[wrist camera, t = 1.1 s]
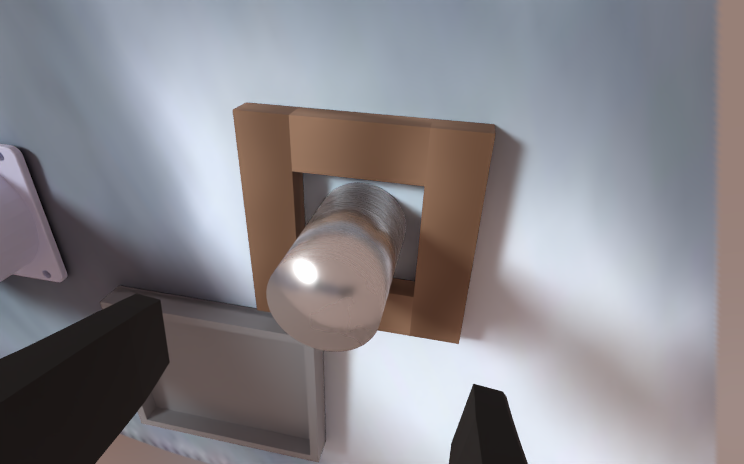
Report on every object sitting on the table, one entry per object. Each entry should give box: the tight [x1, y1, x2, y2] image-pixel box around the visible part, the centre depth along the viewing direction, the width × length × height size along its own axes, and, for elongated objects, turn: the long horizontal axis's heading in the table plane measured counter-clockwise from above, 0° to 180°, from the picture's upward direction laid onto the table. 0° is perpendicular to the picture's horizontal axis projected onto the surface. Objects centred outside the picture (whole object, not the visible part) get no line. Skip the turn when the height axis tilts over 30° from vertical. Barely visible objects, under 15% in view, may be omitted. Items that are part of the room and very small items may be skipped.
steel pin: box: [266, 182, 406, 352], centre depth 17 cm, size 4×4×6 cm
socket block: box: [233, 103, 495, 344], centre depth 20 cm, size 10×10×1 cm
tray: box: [100, 286, 326, 462], centre depth 26 cm, size 12×10×2 cm
